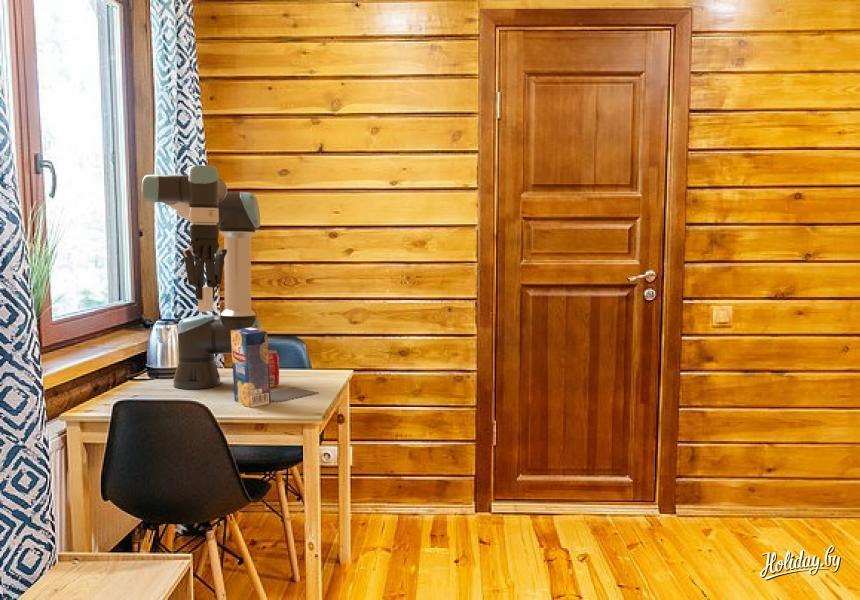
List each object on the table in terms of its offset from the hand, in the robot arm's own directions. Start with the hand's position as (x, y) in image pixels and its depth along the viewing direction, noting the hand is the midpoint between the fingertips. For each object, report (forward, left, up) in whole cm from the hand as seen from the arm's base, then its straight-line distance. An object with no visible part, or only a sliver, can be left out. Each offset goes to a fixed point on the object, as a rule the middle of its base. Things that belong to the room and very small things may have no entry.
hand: (205, 311), depth 202 cm
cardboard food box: (-8, +22, -30) cm, 38 cm away
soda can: (-22, +40, -31) cm, 55 cm away
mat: (-8, +35, -30) cm, 47 cm away
